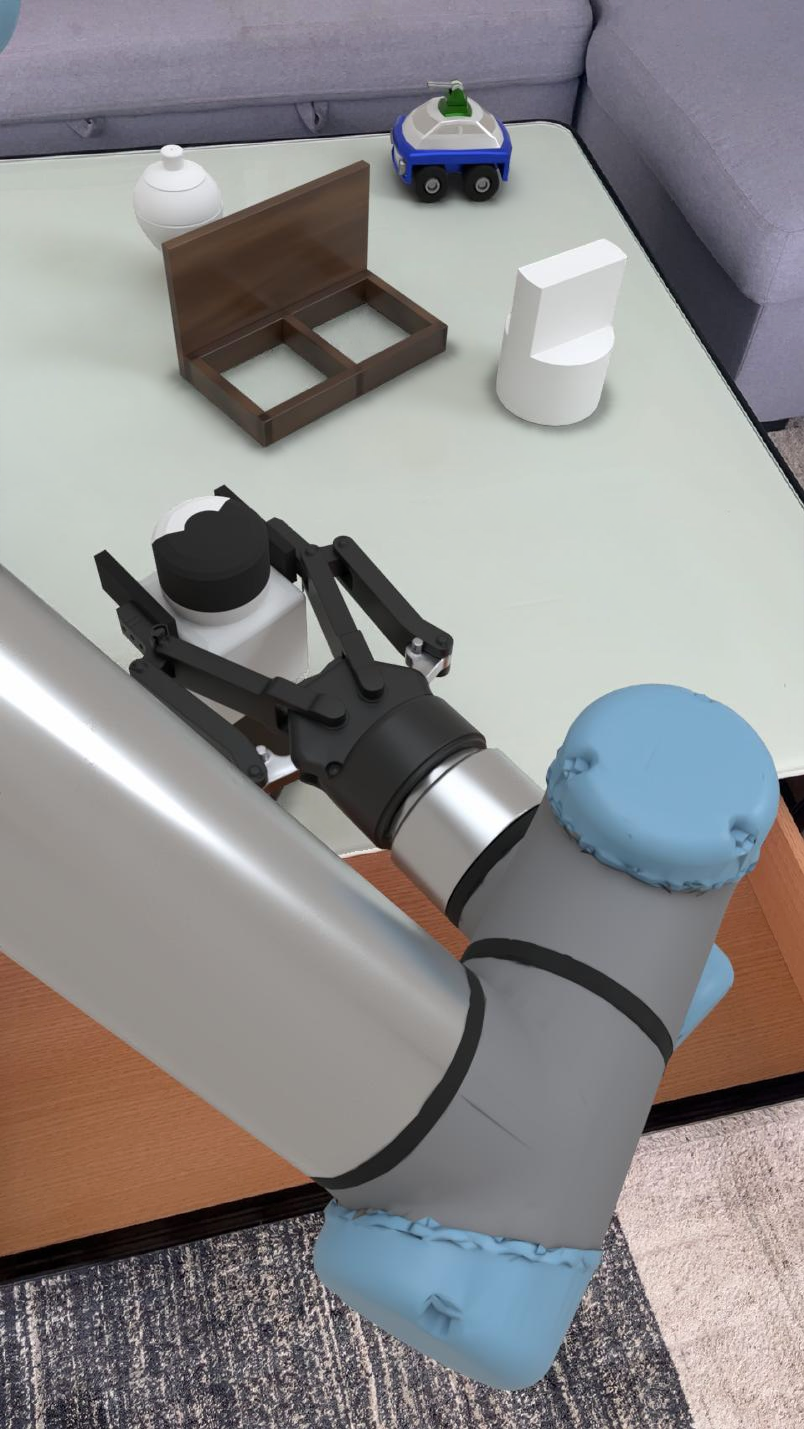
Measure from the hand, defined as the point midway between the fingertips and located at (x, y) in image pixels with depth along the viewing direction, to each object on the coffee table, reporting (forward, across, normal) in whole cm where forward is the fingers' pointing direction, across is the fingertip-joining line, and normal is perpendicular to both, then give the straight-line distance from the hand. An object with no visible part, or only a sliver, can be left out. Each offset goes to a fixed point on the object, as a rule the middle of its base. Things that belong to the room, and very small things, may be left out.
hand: (164, 536), depth 60 cm
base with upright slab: (+6, +41, -14) cm, 44 cm away
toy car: (+36, +58, -14) cm, 70 cm away
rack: (+21, +28, -14) cm, 38 cm away
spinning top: (+37, +27, -14) cm, 48 cm away
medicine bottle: (-5, 0, -8) cm, 9 cm away
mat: (-5, 0, -14) cm, 15 cm away
